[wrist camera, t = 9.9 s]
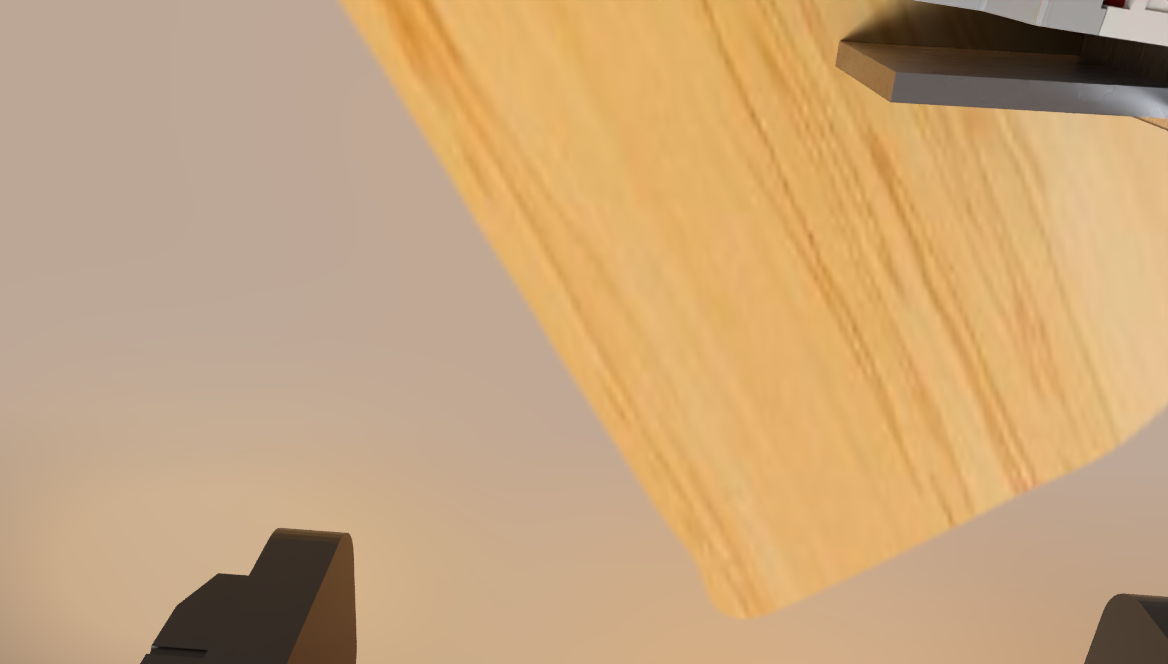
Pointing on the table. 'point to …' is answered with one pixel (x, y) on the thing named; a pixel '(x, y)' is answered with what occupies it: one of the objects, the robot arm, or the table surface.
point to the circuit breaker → (1083, 16)
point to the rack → (1020, 77)
